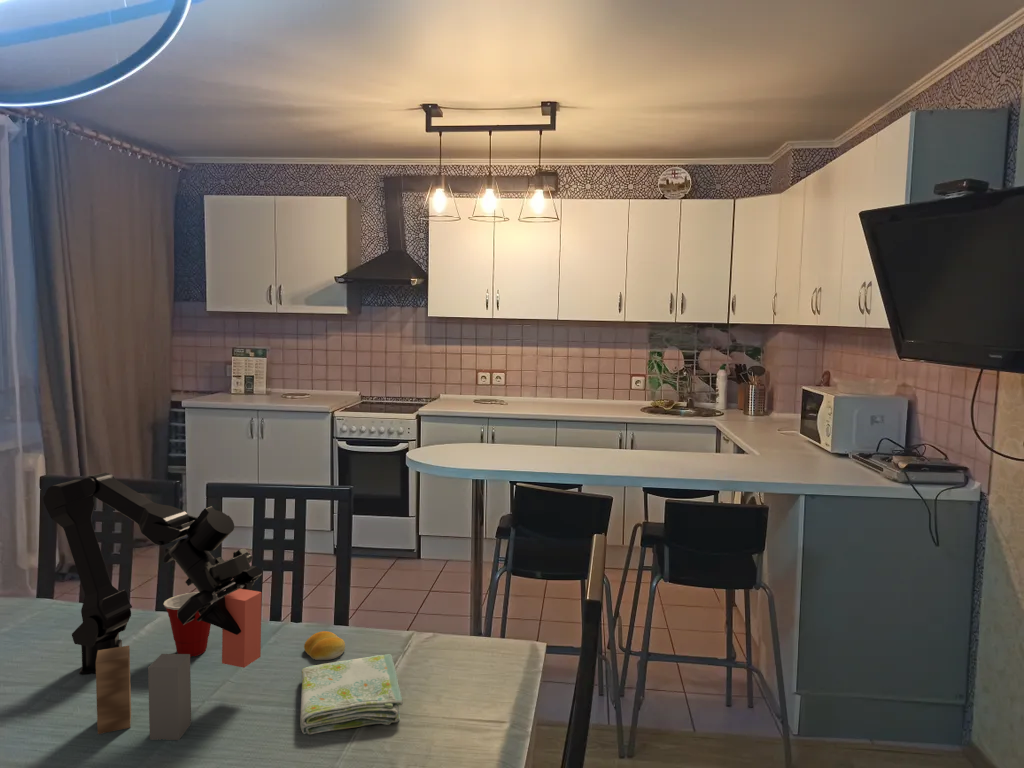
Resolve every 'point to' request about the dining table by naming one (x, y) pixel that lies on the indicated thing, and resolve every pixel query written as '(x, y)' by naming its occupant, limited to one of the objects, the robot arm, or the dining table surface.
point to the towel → (349, 694)
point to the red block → (243, 628)
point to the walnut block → (113, 689)
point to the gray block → (169, 696)
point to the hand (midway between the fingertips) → (248, 627)
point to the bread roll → (324, 646)
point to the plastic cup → (187, 628)
